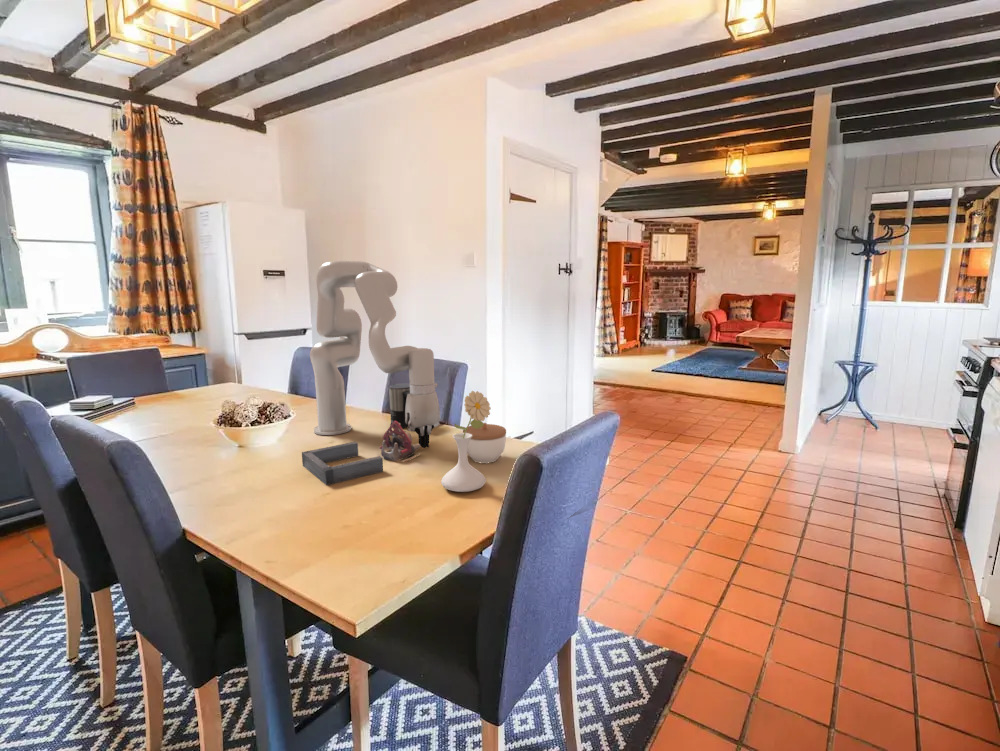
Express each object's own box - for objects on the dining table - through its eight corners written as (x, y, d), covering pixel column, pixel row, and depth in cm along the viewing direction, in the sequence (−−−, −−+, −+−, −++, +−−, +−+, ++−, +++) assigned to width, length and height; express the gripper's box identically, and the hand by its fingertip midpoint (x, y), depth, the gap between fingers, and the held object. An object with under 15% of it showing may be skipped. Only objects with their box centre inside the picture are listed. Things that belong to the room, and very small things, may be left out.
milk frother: (384, 426, 195) (382, 386, 193) (414, 416, 208) (413, 378, 205) (413, 432, 187) (411, 390, 184) (442, 422, 200) (441, 382, 197)
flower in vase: (449, 499, 131) (446, 399, 126) (435, 483, 141) (432, 389, 136) (498, 490, 136) (498, 393, 131) (482, 475, 146) (480, 385, 142)
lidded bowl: (454, 460, 159) (453, 423, 157) (484, 449, 168) (484, 415, 166) (485, 470, 150) (484, 432, 148) (515, 458, 159) (515, 422, 157)
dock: (302, 465, 155) (301, 452, 154) (355, 454, 164) (355, 441, 164) (326, 485, 140) (325, 470, 139) (383, 471, 150) (382, 457, 149)
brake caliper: (366, 451, 159) (383, 415, 163) (388, 464, 168) (403, 429, 172) (395, 458, 153) (411, 420, 157) (416, 471, 162) (431, 434, 166)
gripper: (436, 384, 172) (438, 439, 175) (394, 390, 163) (396, 448, 166) (449, 387, 166) (451, 444, 169) (406, 394, 157) (408, 454, 160)
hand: (424, 446), depth 168 cm, fingers closed
